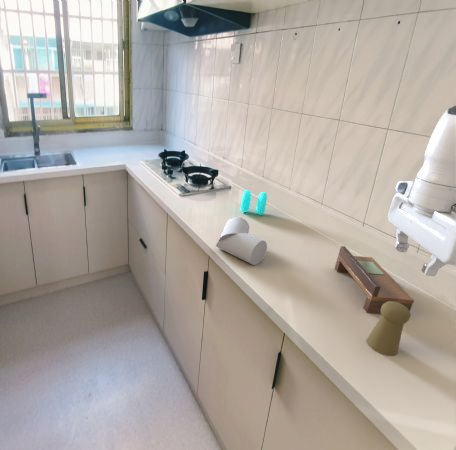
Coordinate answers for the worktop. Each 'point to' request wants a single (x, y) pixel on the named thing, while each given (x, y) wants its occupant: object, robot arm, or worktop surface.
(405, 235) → the robot arm
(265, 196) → the cyan twin rounded posts
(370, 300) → the shelf
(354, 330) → the worktop surface
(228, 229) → the bent grey cylinder
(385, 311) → the olive pawn shape
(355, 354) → the worktop surface
